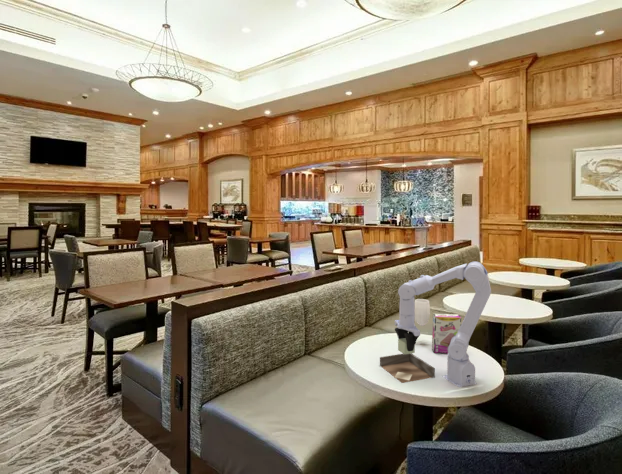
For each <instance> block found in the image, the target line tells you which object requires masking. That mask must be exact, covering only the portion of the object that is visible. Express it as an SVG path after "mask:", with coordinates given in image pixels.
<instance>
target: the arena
mask: <svg viewBox="0 0 622 474" xmlns="http://www.w3.org/2000/svg"><path fill="white" fill-rule="evenodd" d="M379 366H380V367H381V368H382V369H384V371H386V372H387V373H388V374H390V376H392V377H393V378H394V379H396V380H398V381H399V382H400V383H401V384H405V383H410V382H417V381H422V380H427V379H432V378H435V376H436V372H435V371H436V368H435V367H434V366H432V365H430V364H429V363H427V362H426V361H424V360H422V359H421V358H419V356H417V355H415V354H414V353H410V354H403V353H397V354H391V355H386V356H380V357H379Z"/></svg>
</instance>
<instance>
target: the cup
mask: <svg viewBox="0 0 622 474" xmlns="http://www.w3.org/2000/svg"><path fill="white" fill-rule="evenodd" d="M414 302H415V323H417V324H418V325H419V326H421V327H422V326H423V327H424V326H425V325H426V324H428V323H429V320H430V316H431V306H430V300H429V299H425V298H417V299H415V300H414Z"/></svg>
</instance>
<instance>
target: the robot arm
mask: <svg viewBox="0 0 622 474" xmlns="http://www.w3.org/2000/svg"><path fill="white" fill-rule="evenodd" d="M454 279H458V280H461V281H463V280H464V279H465V280H466V281H467V282H468V283H469V284H470V285H471V286H472V288H473V290H474V291H475V293H474V296H473V297H472V300H471V302H470V304H469V306H468V309H467V311H466V313H465V315H464V317H463V320H462V321H461V326H460V328H459V330H458V332H457V334H456V335H455V336H454V337H452V339H451V342H450V345H449V346H448V353H447V368H446V369H447V370H446V371H447V373H446V374H445V375H441V376H442V378H444V379H446V380H447V381H448V382H449V383H452V384H453V385H454V386H456V387H458V388H463V387H467V386H472V385H473V386H474V385H477V382H476V367H475V365H474V364H473V363H472V362H471V360H470V359H469V358H470V356H469V354H468V353H467V351H468V349H469V345H470V344H469V342H470V339H471V337H472V335H473V333H474V331H475V328H476V326H477V324H478V322H479V320H480V317H481V316H482V313H483V311H484V309H485V307H486V305H487V303H488V300H489V298H490V296H491V293H492V288H491V284H490V280H489V279H490V278H489V274H488V271H487V269H486V267H485V266H484V264H483V263H481V262H479V261H475V260H474V261H471V262H469V263H463V264H461V265H456V266H454V267H452V268H449V269H447V270H445V271H442V272H440V273H437V274H436V275H433V276H431V275H428V274H426V275H424V274H421V275H420V277H418V278H416V279H413V280H412V279H409V280H408V282H404V283H403V284H401V285H400V286H399V288H398V290H397V293H398V297H399V302H398V303H399V310H398V311H399V315H398V316H399V317H398V318H399V319H395V320H394V326H396V327H394V331H395V333H396V335H397V338H398V339H402V338H406V342H407V350H408V351H413V349H414V346H415V347H416V343H417V340H418V338H419V337H420V336H421V330H419V329H418V327H417V326H416V325H415V323H416V321H415V300H416V299H415V296H419V295H422V294H425V293H427V292H430V291H432V290H434V288H435V286H436V285H439V284H441V283H444V282H447V281H451V280H454ZM398 339H397V340H398Z"/></svg>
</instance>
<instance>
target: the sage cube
mask: <svg viewBox="0 0 622 474" xmlns="http://www.w3.org/2000/svg"><path fill="white" fill-rule="evenodd" d="M397 340H398V341H397V351H399V352H400V353H401V354H410V353H412V354H415V351H416V349H415V348H416V345H415V346H414V349H413V351H408V350H407V342H406V338H402V339H397Z"/></svg>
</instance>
